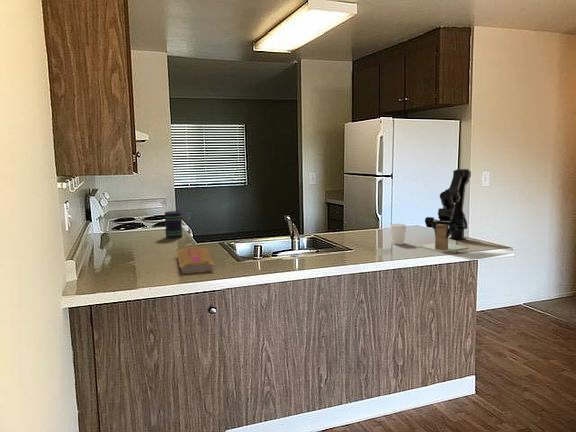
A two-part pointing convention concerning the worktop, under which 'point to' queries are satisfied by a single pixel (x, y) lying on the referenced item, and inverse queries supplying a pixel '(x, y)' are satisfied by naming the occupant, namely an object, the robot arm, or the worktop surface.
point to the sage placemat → (450, 248)
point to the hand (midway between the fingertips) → (441, 237)
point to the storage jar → (173, 224)
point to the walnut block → (441, 237)
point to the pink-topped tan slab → (194, 260)
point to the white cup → (398, 233)
